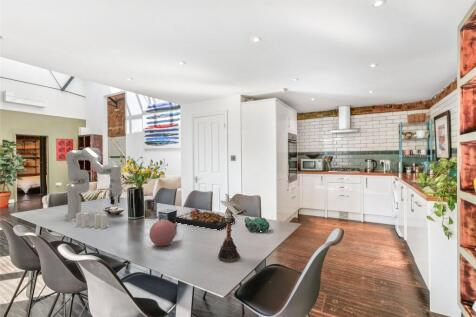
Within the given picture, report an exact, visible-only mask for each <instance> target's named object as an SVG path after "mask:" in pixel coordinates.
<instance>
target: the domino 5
mask: <svg viewBox="0 0 476 317" xmlns="http://www.w3.org/2000/svg"><path fill="white" fill-rule="evenodd" d="M112 197H113V196H112ZM114 199H115V204H111V207H112V208H116V207H118V206H119V203H118V195H115V197H114Z"/></svg>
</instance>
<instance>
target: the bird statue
mask: <svg viewBox="0 0 476 317" xmlns="http://www.w3.org/2000/svg"><path fill="white" fill-rule="evenodd" d="M235 199H236V198H235V196H234V195H233V196H232V198H231V197H230V195H229V194H228V193H225V200H220V203H221V204H222V205H223V206H225V207H226V208H227V212H226V213H225V215H224V216H225V217H224V218H225V222H227V227H226V229H225V230H226V236H225V237H224V239H223V243H222V244H221V246H220V249H219V251H218V255H217V258H218V261H219V260H220V261H219V262H222V261H223V263H226V262H228V263H236V262H238V259H239V260H240V259H241V255H240V253H239V252H238V250H237V246H236V244H235V243H234V241H233V236H232V228H231V227H232V224H231V222H233V218H237V217H238V216H239V215H242V214H244V213H247V208H243V207H242V206H240V205H239V204H238V203H237V202H236V201H235ZM235 261H236V262H235Z"/></svg>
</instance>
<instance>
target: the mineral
mask: <svg viewBox="0 0 476 317" xmlns="http://www.w3.org/2000/svg"><path fill="white" fill-rule="evenodd" d="M244 223H245V224H244V226H245V227H246V229H247V230H248V231H250V233H252V232H260V231H263V232H267V231H268V230H269V229H270V223H269V221H268V220H267V219H266V218H265V217H255V218H254V219H251V218H249V217H247V216H246V217H245V218H244ZM260 233H261V232H260Z"/></svg>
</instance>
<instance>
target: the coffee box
mask: <svg viewBox="0 0 476 317" xmlns="http://www.w3.org/2000/svg"><path fill="white" fill-rule="evenodd" d="M157 201H158V200H157V199H156V198H155V199H154V198H152V199H145V200H144V201H143V202H144V204H143V206H144V208H143V209H144V212H143V214H144V218H143V219H144V220H146V219H147V220H149V219H150V220H151V219H152V220H154V218H155V219H157V218H158V211H157V210H158V202H157Z"/></svg>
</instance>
